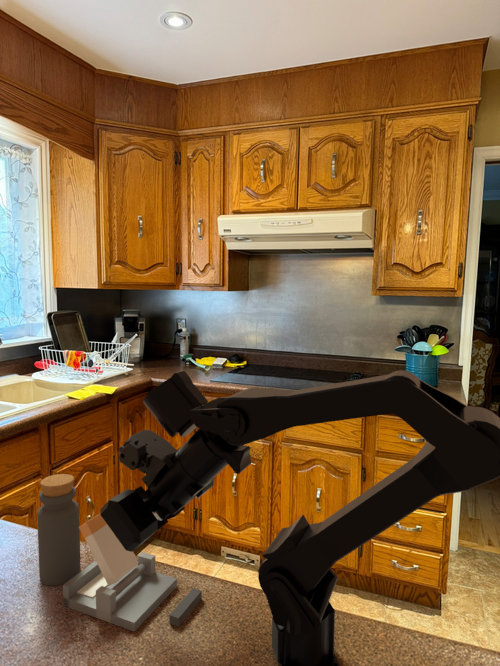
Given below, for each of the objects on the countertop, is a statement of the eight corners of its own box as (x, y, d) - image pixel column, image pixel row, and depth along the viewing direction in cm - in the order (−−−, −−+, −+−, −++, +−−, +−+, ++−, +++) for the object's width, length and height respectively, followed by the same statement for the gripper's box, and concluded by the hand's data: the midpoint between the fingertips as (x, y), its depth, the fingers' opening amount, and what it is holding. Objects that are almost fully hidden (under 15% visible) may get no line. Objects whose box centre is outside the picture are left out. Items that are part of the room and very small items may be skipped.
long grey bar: (193, 596, 66) (193, 588, 65) (201, 598, 65) (201, 590, 65) (169, 623, 60) (169, 615, 60) (178, 626, 59) (178, 618, 59)
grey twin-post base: (177, 586, 68) (176, 561, 67) (134, 631, 59) (133, 603, 58) (112, 566, 72) (111, 543, 72) (63, 605, 63) (62, 579, 63)
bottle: (66, 588, 67) (63, 489, 66) (30, 583, 68) (27, 485, 67) (88, 565, 73) (85, 473, 71) (55, 561, 74) (52, 470, 73)
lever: (148, 569, 68) (114, 504, 69) (117, 597, 61) (81, 525, 63) (140, 573, 68) (107, 508, 70) (109, 601, 62) (73, 529, 64)
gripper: (194, 400, 69) (136, 461, 74) (110, 434, 52) (43, 511, 57) (242, 458, 67) (179, 517, 72) (170, 514, 50) (94, 586, 55)
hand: (129, 529), depth 64 cm, fingers closed
